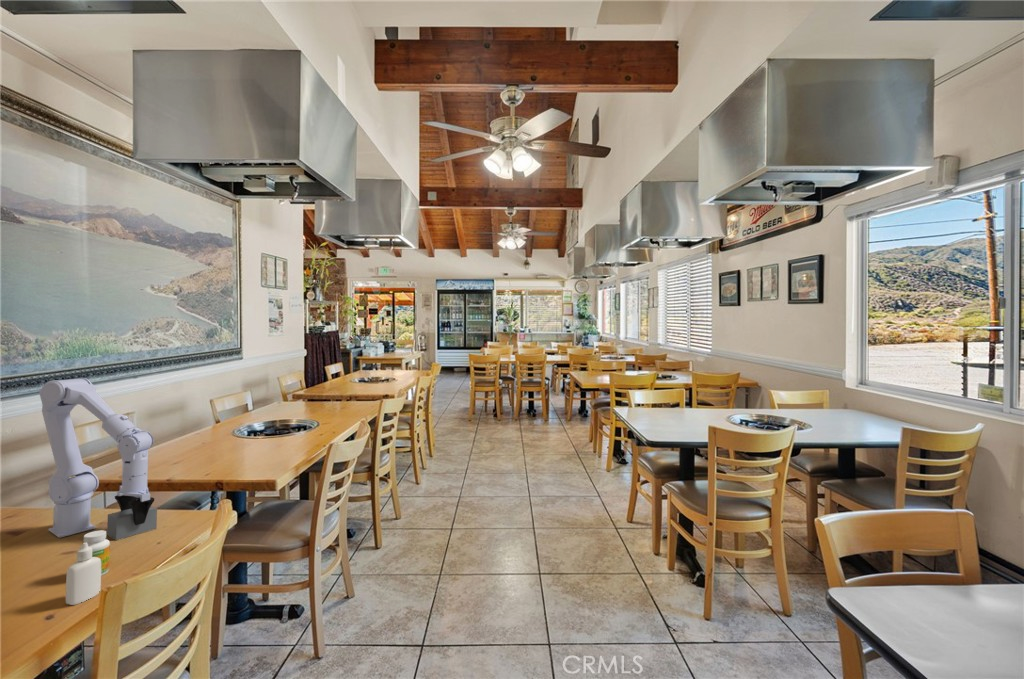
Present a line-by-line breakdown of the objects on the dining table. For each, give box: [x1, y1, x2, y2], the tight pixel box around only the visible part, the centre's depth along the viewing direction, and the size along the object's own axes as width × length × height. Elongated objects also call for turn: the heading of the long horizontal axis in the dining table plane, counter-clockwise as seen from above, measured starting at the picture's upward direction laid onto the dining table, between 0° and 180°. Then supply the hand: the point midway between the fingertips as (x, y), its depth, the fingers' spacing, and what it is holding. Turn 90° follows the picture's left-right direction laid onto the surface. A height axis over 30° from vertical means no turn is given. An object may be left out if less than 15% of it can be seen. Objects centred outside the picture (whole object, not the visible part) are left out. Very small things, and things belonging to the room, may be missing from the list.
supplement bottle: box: [79, 530, 111, 577], centre depth 108 cm, size 5×5×10 cm
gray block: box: [106, 505, 158, 541], centre depth 131 cm, size 6×10×6 cm, turn 150°
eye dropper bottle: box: [65, 542, 102, 606], centre depth 98 cm, size 4×6×12 cm
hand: (133, 521), depth 132 cm, fingers open, 7 cm apart
